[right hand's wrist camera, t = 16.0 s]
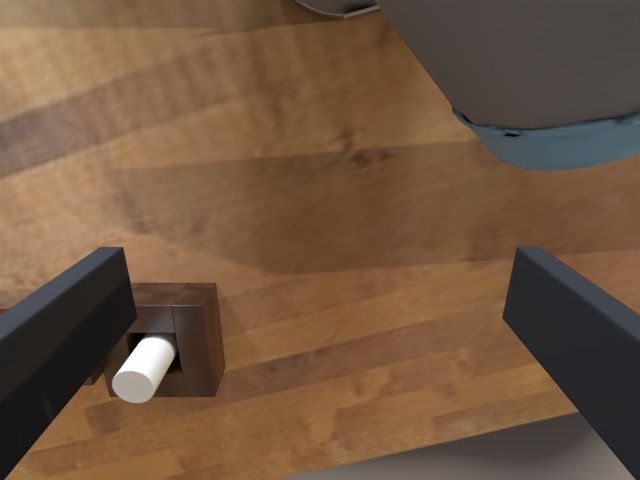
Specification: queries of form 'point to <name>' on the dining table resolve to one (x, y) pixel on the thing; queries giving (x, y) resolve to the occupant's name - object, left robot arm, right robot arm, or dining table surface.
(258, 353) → the dining table surface
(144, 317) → the peg stand
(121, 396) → the peg
